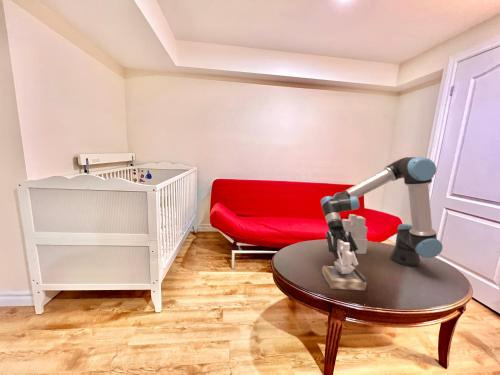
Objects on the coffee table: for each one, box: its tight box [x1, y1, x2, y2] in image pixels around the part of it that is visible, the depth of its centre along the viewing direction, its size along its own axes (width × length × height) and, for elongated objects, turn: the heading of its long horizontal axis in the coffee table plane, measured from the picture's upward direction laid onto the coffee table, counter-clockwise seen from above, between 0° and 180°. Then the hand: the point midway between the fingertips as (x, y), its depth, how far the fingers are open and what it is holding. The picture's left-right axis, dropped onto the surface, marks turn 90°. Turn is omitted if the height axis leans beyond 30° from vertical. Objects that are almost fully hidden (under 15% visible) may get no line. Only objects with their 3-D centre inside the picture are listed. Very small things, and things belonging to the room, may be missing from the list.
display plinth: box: [321, 264, 368, 291], centre depth 109 cm, size 16×14×6 cm
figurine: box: [333, 241, 356, 274], centre depth 107 cm, size 7×9×15 cm
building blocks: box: [326, 213, 369, 255], centre depth 146 cm, size 22×12×25 cm, turn 92°
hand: (348, 265), depth 104 cm, fingers closed on figurine, 7 cm apart
